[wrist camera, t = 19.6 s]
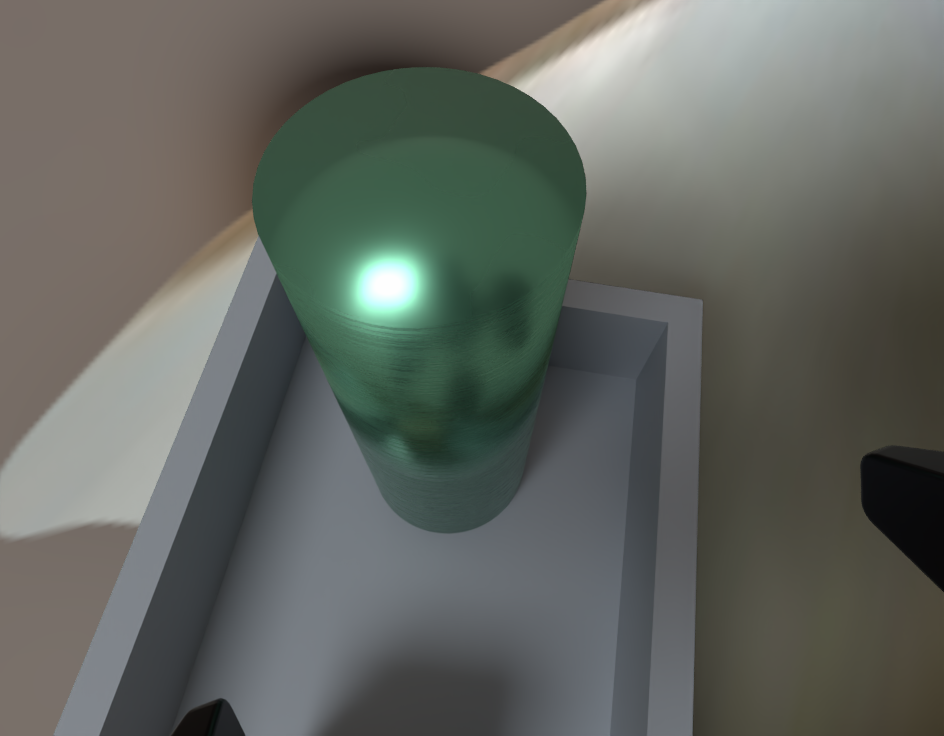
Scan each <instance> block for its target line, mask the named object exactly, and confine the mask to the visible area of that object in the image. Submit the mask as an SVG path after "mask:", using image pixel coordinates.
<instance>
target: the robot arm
mask: <svg viewBox="0 0 944 736" xmlns="http://www.w3.org/2000/svg"><path fill="white" fill-rule="evenodd" d="M860 469H861V502H862V507H863V510H864V512H865V514H866V516H867V517H868V518H869V520H870V521H871V522H872V523H873V524H874V525H875V526H876V527H877V528H878V529H879V530H880V531H881V532H882V533H883V534H884V535H885V536H886V537H887V538H888V539H889V540H890V541H891V542H893V543H894V544H895V545H896V546H897V547H898V548H899V549H900V550H901V551H902V552H903V553H904V554H905V555H906V556H907V557H908V558H909V559H910V560H911V561H912V562H913V563H914V564H915V565H916V566H917V567H918V568H919V569H920V570H921V571H922V572H923V573H924V574H925V575H926V576H927V577H929V578H930V579H931V580H932V581H933V582H934V583H935V584H936V585H937V586H938V587H939V588H940V589H941V590H942V591H943V592H944V452H941V451H933V450H926V449H918V448H910V447H902V446H893V445H892V446H886V447H883V448H880V449H878V450H875V451H872V452H870V453H867V454H866V455H865V456H863V458H862V461H861V465H860ZM170 736H246V735H245V733H244V731H243V729H242V727H241V725H240V723H239V721H238V719H237V717H236V715H235V713H234V711H233V709H232V707H231V705H230V703H229V702H228V701H227V700H226V699H223V698H218V699H215V700H213V701H210V702H207V703H205V704H202V705H199V706H197V707H194V708H192V709H191V710H189V711H188V712H187V713H186V715H185V716H184V717H183V718H182V720H181V721H180V723H179V724H178V726H177V727H176V728H175V730H174V731H173V733H172V734H171V735H170Z"/></svg>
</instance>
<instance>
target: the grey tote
mask: <svg viewBox="0 0 944 736" xmlns="http://www.w3.org/2000/svg"><path fill="white" fill-rule="evenodd" d="M702 314H703V300H701V299H695V298H688V297H682V296H675V295H669V294H662V293H656V292H649V291H643V290H636V289H630V288H623V287H617V286H610V285H604V284H597V283H591V282H584V281H578V280H571V279H568V283H567V287H566V291H565V296H564V300H563V304H562V308H561V313H560V317H559V321H558V326H557V330H556V334H555V338H554V343H553V347H552V351H551V355H550V360H549V364H548V368H547V372H546V377H545V381H544V385H543V390H542V394H541V398H540V402H539V407H538V411H537V415H536V419H535V424H534V428H533V432H532V436H531V441H530V445H529V449H528V454H527V458H526V462H525V466H524V471H523V475H522V478H521V482H520V485H519V487H518V489H517V492H516V494H515V495H514V497H513V499H512V500H511V502H510V503H509V504H508V506H507V507H506V508H505V509H504V510H503V511H502V512H501V513H500V514H499V515H498V516H497V517H495V518H494V519H492V520H491V521H490V522H488V523H486V524H484V525H482V526H480V527H478V528H475V529H473V530H470V531H465V532H461V533H452V534H444V533H435V532H429V531H426V530H423V529H420V528H417V527H415V526H413V525H411V524H409V523H408V522H406V521H405V520H403V519H402V518H400V517H399V516H398V515H397V514H396V513H395V512H394V511H393V510H392V509H391V508H390V507H389V506H388V504H387V503H386V501H385V500H384V498H383V497H382V495H381V493H380V490H379V488H378V486H377V484H376V482H375V480H374V478H373V476H372V474H371V471H370V469H369V467H368V465H367V463H366V461H365V459H364V457H363V455H362V452H361V450H360V448H359V446H358V444H357V442H356V440H355V438H354V436H353V434H352V431H351V429H350V427H349V425H348V423H347V421H346V419H345V417H344V415H343V412H342V410H341V408H340V406H339V404H338V402H337V400H336V398H335V396H334V393H333V391H332V389H331V387H330V385H329V383H328V381H327V379H326V377H325V374H324V372H323V370H322V368H321V366H320V364H319V362H318V360H317V358H316V355H315V353H314V351H313V349H312V347H311V345H310V343H309V341H308V339H307V336H306V334H305V332H304V330H303V328H302V326H301V324H300V322H299V320H298V317H297V315H296V313H295V311H294V309H293V307H292V305H291V303H290V301H289V299H288V296H287V294H286V292H285V290H284V288H283V286H282V284H281V282H280V280H279V277H278V275H277V273H276V271H275V269H274V267H273V265H272V263H271V261H270V258H269V256H268V254H267V252H266V250H265V248H264V246H263V244H262V241H261V239H260V237H259V236H258V239H257V241H256V243H255V246H254V248H253V251H252V253H251V256H250V258H249V260H248V263H247V265H246V268H245V270H244V273H243V275H242V278H241V280H240V282H239V285H238V287H237V290H236V292H235V295H234V297H233V299H232V302H231V304H230V307H229V309H228V312H227V314H226V316H225V319H224V321H223V324H222V326H221V329H220V331H219V333H218V336H217V338H216V341H215V343H214V346H213V348H212V350H211V353H210V355H209V358H208V360H207V363H206V365H205V368H204V370H203V372H202V375H201V377H200V380H199V382H198V385H197V387H196V389H195V392H194V394H193V397H192V399H191V402H190V404H189V406H188V409H187V411H186V414H185V416H184V419H183V421H182V423H181V426H180V428H179V431H178V433H177V436H176V438H175V440H174V443H173V445H172V448H171V450H170V453H169V455H168V458H167V460H166V462H165V465H164V467H163V470H162V472H161V475H160V477H159V479H158V482H157V484H156V487H155V489H154V492H153V494H152V496H151V499H150V501H149V504H148V506H147V509H146V511H145V513H144V516H143V518H142V521H141V523H140V526H139V528H138V530H137V533H136V535H135V538H134V541H133V543H132V545H131V548H130V550H129V552H128V555H127V557H126V560H125V562H124V565H123V567H122V569H121V572H120V574H119V577H118V579H117V582H116V584H115V587H114V589H113V592H112V594H111V596H110V599H109V601H108V604H107V606H106V608H105V611H104V613H103V616H102V618H101V621H100V623H99V625H98V628H97V630H96V633H95V635H94V638H93V640H92V642H91V645H90V647H89V650H88V652H87V655H86V657H85V659H84V662H83V664H82V667H81V669H80V672H79V674H78V677H77V679H76V681H75V684H74V686H73V689H72V691H71V694H70V696H69V699H68V701H67V703H66V706H65V708H64V711H63V713H62V715H61V718H60V720H59V723H58V725H57V728H56V730H55V732H54V735H53V736H170V735H171V734H172V733H173V731H174V730H175V728H176V727H177V726H178V724H179V723H180V721H181V720H182V718H183V717H184V716H185V715H186V713H187V712H188V711H189V710H191V709H192V708H194V707H197V706H199V705H202V704H205V703H207V702H210V701H213V700H215V699H218V698H223V699H226V700H227V701H228V702H229V703H230V705H231V707H232V709H233V711H234V713H235V715H236V717H237V719H238V721H239V723H240V725H241V727H242V729H243V731H244V733H245V735H246V736H692V731H693V690H694V648H695V606H696V564H697V523H698V481H699V439H700V398H701V356H702Z"/></svg>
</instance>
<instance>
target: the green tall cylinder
mask: <svg viewBox="0 0 944 736" xmlns="http://www.w3.org/2000/svg"><path fill="white" fill-rule="evenodd" d="M585 201H586V177H585V173H584V168H583V164H582V160H581V158H580V155H579V153H578V150H577V148H576V145H575V144H574V142H573V140H572V139H571V137H570V135H569V134H568V132H567V131H566V129H565V128H564V127H563V126H562V124H561V123H560V122H559V121H558V120H557V118H556V117H555V116H554V115H552V114H551V113H550V112H549V111H548V110H547V109H546V108H545V107H544V106H543V105H541V104H540V103H539V102H537V101H536V100H534V99H533V98H532V97H530V96H529V95H527V94H525V93H524V92H522V91H520V90H518V89H516V88H515V87H513V86H510V85H508V84H506V83H503V82H501V81H499V80H496V79H493V78H490V77H487V76H484V75H481V74H477V73H472V72H467V71H463V70H456V69H448V68H432V67H417V68H402V69H395V70H389V71H383V72H379V73H374V74H370V75H367V76H363V77H360V78H357V79H354V80H351V81H349V82H346V83H344V84H341V85H339V86H337V87H335V88H333V89H331V90H329V91H327V92H325V93H323V94H322V95H320V96H318V97H317V98H315V99H313V100H312V101H310V102H309V103H308V104H306V105H305V106H304V107H303V108H301V109H300V110H298V111H297V112H296V113H295V114H294V115H293V116H292V117H291V118H290V119H289V120H288V121H287V122H286V123H285V124H284V125H283V126H282V127H281V129H280V130H279V131H278V132H277V133H276V135H275V136H274V137H273V139H272V140H271V142H270V143H269V145H268V147H267V149H266V150H265V152H264V154H263V156H262V159H261V161H260V163H259V166H258V168H257V173H256V176H255V180H254V184H253V197H252V204H253V216H254V221H255V224H256V228H257V232H258V235H259V237H260V239H261V241H262V244H263V246H264V248H265V250H266V252H267V254H268V256H269V258H270V261H271V263H272V265H273V267H274V269H275V271H276V273H277V275H278V277H279V280H280V282H281V284H282V286H283V288H284V290H285V292H286V294H287V296H288V299H289V301H290V303H291V305H292V307H293V309H294V311H295V313H296V315H297V317H298V320H299V322H300V324H301V326H302V328H303V330H304V332H305V334H306V336H307V339H308V341H309V343H310V345H311V347H312V349H313V351H314V353H315V355H316V358H317V360H318V362H319V364H320V366H321V368H322V370H323V372H324V374H325V377H326V379H327V381H328V383H329V385H330V387H331V389H332V391H333V393H334V396H335V398H336V400H337V402H338V404H339V406H340V408H341V410H342V412H343V415H344V417H345V419H346V421H347V423H348V425H349V427H350V429H351V431H352V434H353V436H354V438H355V440H356V442H357V444H358V446H359V448H360V450H361V452H362V455H363V457H364V459H365V461H366V463H367V465H368V467H369V469H370V471H371V474H372V476H373V478H374V480H375V482H376V484H377V486H378V488H379V490H380V493H381V495H382V497H383V498H384V500H385V501H386V503H387V504H388V506H389V507H390V508H391V509H392V510H393V511H394V512H395V513H396V514H397V515H398V516H399V517H400V518H402V519H403V520H405V521H406V522H408V523H409V524H411V525H413V526H415V527H417V528H420V529H423V530H426V531H429V532H435V533H444V534H452V533H461V532H465V531H470V530H473V529H475V528H478V527H480V526H482V525H484V524H486V523H488V522H490V521H491V520H492V519H494V518H495V517H497V516H498V515H499V514H500V513H501V512H502V511H503V510H504V509H505V508H506V507H507V506H508V504H509V503H510V502H511V500H512V499H513V497H514V495H515V494H516V492H517V489H518V487H519V485H520V482H521V478H522V475H523V471H524V466H525V462H526V458H527V454H528V449H529V445H530V441H531V436H532V432H533V428H534V424H535V419H536V415H537V411H538V407H539V402H540V398H541V394H542V390H543V385H544V381H545V377H546V372H547V368H548V364H549V360H550V355H551V351H552V347H553V343H554V338H555V334H556V330H557V326H558V321H559V317H560V313H561V308H562V304H563V300H564V296H565V291H566V287H567V283H568V279H569V274H570V270H571V266H572V262H573V257H574V253H575V249H576V244H577V240H578V236H579V232H580V227H581V223H582V219H583V215H584V210H585Z"/></svg>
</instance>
